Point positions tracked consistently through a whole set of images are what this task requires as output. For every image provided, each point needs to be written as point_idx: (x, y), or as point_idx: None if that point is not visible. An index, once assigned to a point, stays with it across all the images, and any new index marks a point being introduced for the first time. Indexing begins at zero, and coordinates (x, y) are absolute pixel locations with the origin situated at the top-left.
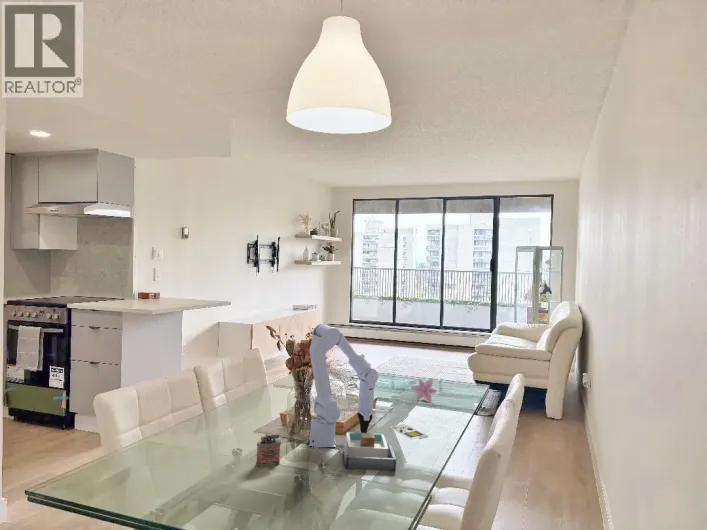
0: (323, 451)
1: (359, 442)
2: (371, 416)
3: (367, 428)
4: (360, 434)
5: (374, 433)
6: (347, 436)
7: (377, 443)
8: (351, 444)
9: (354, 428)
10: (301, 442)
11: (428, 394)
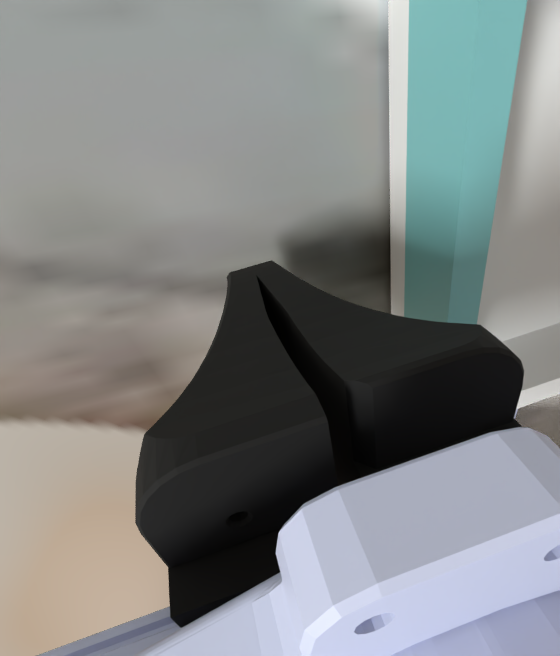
0: (541, 422)
1: (488, 270)
2: (429, 386)
3: (305, 282)
4: (471, 312)
5: (473, 132)
6: (540, 398)
7: (530, 43)
8: (525, 321)
9: (4, 408)
10: None
11: None
